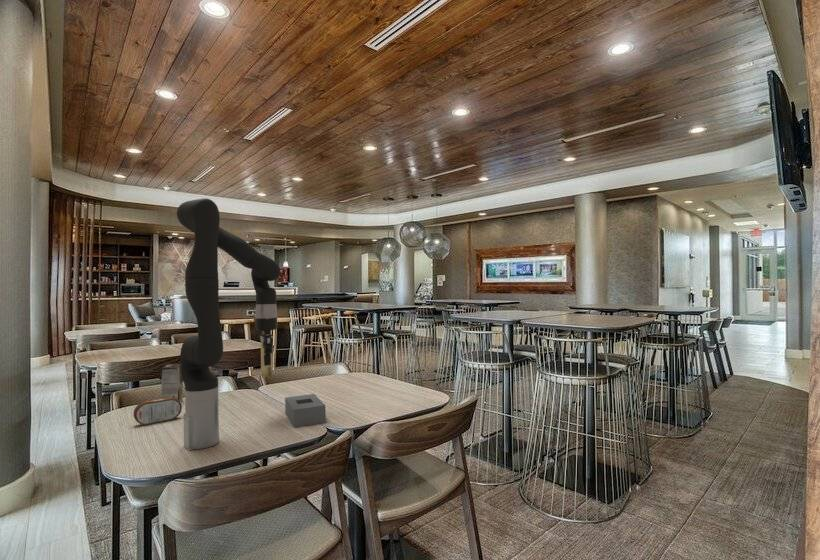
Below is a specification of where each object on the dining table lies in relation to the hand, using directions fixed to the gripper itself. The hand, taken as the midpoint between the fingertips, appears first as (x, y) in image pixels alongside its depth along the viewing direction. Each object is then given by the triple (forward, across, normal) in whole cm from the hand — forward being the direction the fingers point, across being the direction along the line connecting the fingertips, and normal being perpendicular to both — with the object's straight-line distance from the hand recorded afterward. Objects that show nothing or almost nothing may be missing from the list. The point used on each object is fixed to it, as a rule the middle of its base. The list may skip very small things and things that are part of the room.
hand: (266, 363), depth 152 cm
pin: (+4, 0, 0) cm, 4 cm away
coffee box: (+20, -43, -33) cm, 58 cm away
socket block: (+20, +4, +13) cm, 24 cm away
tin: (+21, -18, -36) cm, 45 cm away
